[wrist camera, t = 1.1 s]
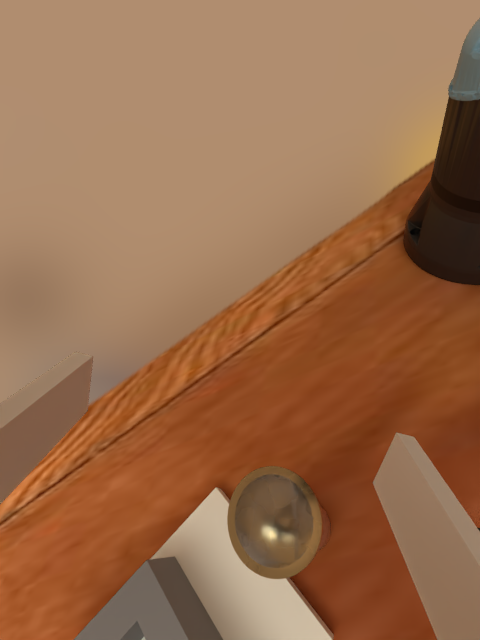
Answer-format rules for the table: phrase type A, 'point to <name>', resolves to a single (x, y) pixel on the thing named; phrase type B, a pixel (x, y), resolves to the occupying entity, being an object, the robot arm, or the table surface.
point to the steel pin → (276, 522)
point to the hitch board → (205, 592)
